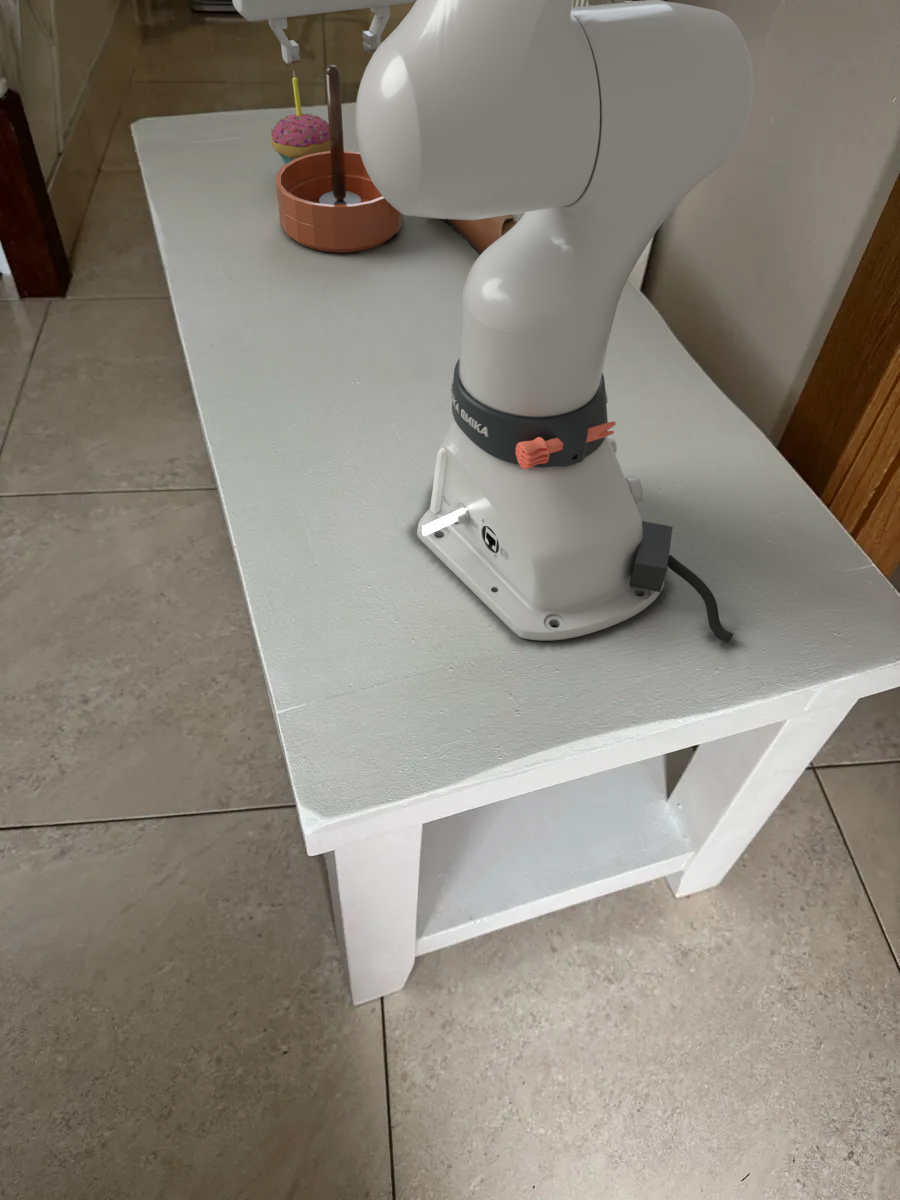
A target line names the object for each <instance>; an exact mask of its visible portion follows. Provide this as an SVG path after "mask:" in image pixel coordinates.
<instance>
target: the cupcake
mask: <svg viewBox="0 0 900 1200" xmlns="http://www.w3.org/2000/svg"><path fill="white" fill-rule="evenodd" d="M295 71H296V70H293V71H292V74H293V77H292V87H293V95H294V104H295V110H296V112H295V113H293V114H289V115H288V116H285V117H282V118H280V120H279V121H278V122H277V123H276V124H275V125H274V126H273V127H272V129H271V136H270V144H271V146H272V149H274V150H275V152H276V153H277V154H278V155H279V156H280V157H281V160H282V162H283V166H284V165H285V164H287V163H289V162H290V161H292V160H294V159H296V158H299V157H302V156H305V155H308V154H313V153H319V152H325V151H326V152H327V151H330V137H329V122H327V121H328V120H326V119H324V118H321V117H320V116H317V115H313V114H312V113H311V114H310V113H302V104H301V96H300V90H299V81H298V80H299V79H298V77H296V72H295Z"/></svg>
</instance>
